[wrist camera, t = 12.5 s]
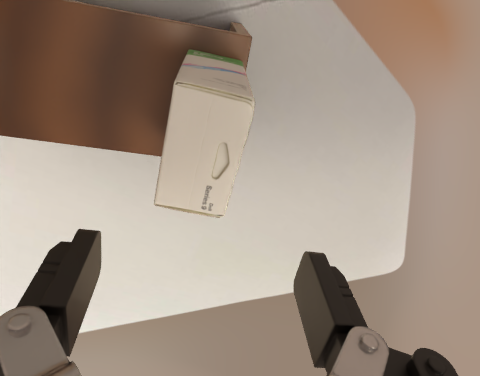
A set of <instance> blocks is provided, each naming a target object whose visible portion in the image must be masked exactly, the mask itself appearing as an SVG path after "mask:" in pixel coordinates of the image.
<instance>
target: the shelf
mask: <svg viewBox="0 0 480 376" xmlns="http://www.w3.org/2000/svg"><path fill="white" fill-rule="evenodd" d="M251 41H252V37H251V35H250V34H249V33H248V31H247V30H246V29H245V28H244V26H243V25H242V24H240V23H235V22H231V25H230V31H227V30H222V29H217V28H212V27H206V26H201V25H196V24H191V23H186V22H181V21H175V20H170V19H165V18H160V17H155V16H150V15H144V14H139V13H134V12H129V11H124V10H119V9H113V8H108V7H103V6H98V5H93V4H88V3H83V2H77V1H72V0H0V135H1V136H9V137H16V138H24V139H32V140H39V141H47V142H55V143H62V144H70V145H78V146H85V147H93V148H101V149H108V150H116V151H123V152H131V153H139V154H146V155H154V156H162V151H163V145H164V139H165V133H166V128H167V122H168V116H169V110H170V104H171V98H172V92H173V85H174V81H175V79H176V77H177V74H178V72H179V70H180V67H181V65H182V63H183V61H184V59H185V57H186V54H187V52H188V50H196V51H201V52H205V53H210V54H214V55H219V56H223V57H228V58H232V59H236V60H240V61H242V62H243V66H244V69H245V72H246V67H247V62H248V57H249V51H250V46H251Z"/></svg>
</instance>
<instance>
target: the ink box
mask: <svg viewBox="0 0 480 376" xmlns="http://www.w3.org/2000/svg"><path fill="white" fill-rule="evenodd" d="M254 106H255V100H254V97H253V94H252V91H251V88H250V85H249V82H248V79H247V75H246V72H245V69H244V66H243V62H242V61H240V60H236V59H232V58H228V57H223V56H219V55H214V54H210V53H205V52H201V51H196V50H188V52H187V54H186V57H185V59H184V61H183V63H182V65H181V67H180V70H179V72H178V74H177V77H176V79H175V81H174V85H173V92H172V98H171V104H170V110H169V116H168V122H167V128H166V133H165V139H164V145H163V151H162V157H161V163H160V169H159V175H158V181H157V187H156V193H155V200H154V205H155V206H160V207H164V208H168V209H172V210H178V211H183V212H188V213H193V214H199V215H205V216H210V217H216V218H220V217H222V216H224V215H225V211H226V209H227V206H228V200H229V198H230V195H231V192H232V188H233V183H234V179H235V176H236V173H237V171H238V168H239V165H240V160H241V155H242V151H243V148H244V146H245V143H246V140H247V136H248V133H249V128H250V125H251V122H252V119H253V115H254Z"/></svg>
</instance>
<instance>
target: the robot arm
mask: <svg viewBox="0 0 480 376" xmlns="http://www.w3.org/2000/svg"><path fill="white" fill-rule="evenodd" d="M100 269H101V232H100V231H95V230H85V229H79V230H78V231H77V233H76V234H75V236H74V238H73V240H72V242H62V241H61V242H60V243H58V244H57V245H56V246H55V247H53V248H52V249H51V250H49V252H48V254H47V256H46V257H45V259H44V261H43V263H42V264H41V266H40V268H39V269H38V272H37V273H36V274H35V276H34V278H33V280H32V281H31V283H30V285H29V286H28V288H27V290H26V292H25V293H24V295H23V297H22V298H21V300H20V302H19V303H18V305H17V307H16V308H14V309H12V310H10V311H8V312H6V313H4V314H3V315H2V316H0V376H81V374H80V372H79V370H78V368H77V366H76V364H75V363H74V362H69V360H68V358H67V356H70V354H71V351H72V349H73V346H74V343H75V341H76V338H77V335H78V333H79V330H80V327H81V324H82V322H83V319H84V316H85V313H86V311H87V308H88V305H89V303H90V300H91V297H92V294H93V292H94V289H95V286H96V283H97V281H98V278H99V274H100ZM294 295H295V298H296V302H297V305H298V309H299V313H300V317H301V320H302V324H303V328H304V331H305V335H306V338H307V342H308V346H309V349H310V353H311V357H312V360H313V364H314V367H317V368H325V369H326V372H327V376H458V375H457V373H456V371H455V369H454V368H453V366H452V365H451V364H450V362H449V361H448V360H447V359H446V358H444V357H443V356H442V355H440V354H439V353H437V352H436V351H433V350H430V349H427V348H420V349H417V350H416V351H415V352H414V354H413V355H412V356H411V355H409V354H406V353H403V352H400V351H397V350H394V349H392V348H389V347H388V346H387V343H386V342H385V340H384V339H383V338H382V337H381V336H380V335H379V334H378V333H376V332H375V331H373V330H371V329H369V328H368V326H367V324H366V322H365V320H364V318H363V316H362V314H361V312H360V309H359V307H358V305H357V303H356V300H355V298H354V297H353V294H352V292H351V290H350V289H349V285H348V283H347V281H346V279H345V277H344V275H343V274H342V273H341V272H340V271H339V270H338V269H337V268H336V267H333V266H330V265H329V262H328V260H327V258H326V255H325V254H324V253H317V252H307V251H306V252H305V253H304V254H303V257H302V259H301V262H300V265H299V268H298V271H297V273H296V276H295V279H294Z"/></svg>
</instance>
